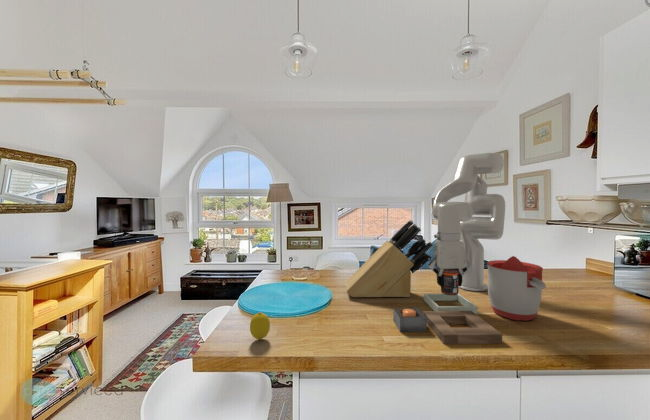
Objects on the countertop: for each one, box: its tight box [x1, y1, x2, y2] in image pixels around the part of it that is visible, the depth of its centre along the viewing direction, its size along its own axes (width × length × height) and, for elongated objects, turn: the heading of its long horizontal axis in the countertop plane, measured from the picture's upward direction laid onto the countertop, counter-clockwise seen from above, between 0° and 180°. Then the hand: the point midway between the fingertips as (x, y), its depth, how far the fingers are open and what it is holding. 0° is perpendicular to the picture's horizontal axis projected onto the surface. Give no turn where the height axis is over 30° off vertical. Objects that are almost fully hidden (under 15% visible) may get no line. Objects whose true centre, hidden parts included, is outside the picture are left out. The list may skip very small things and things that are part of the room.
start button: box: [403, 309, 416, 317], centre depth 85 cm, size 4×4×4 cm
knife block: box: [344, 219, 434, 298], centre depth 114 cm, size 11×35×31 cm, turn 89°
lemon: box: [249, 311, 271, 341], centre depth 78 cm, size 6×6×8 cm
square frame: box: [422, 310, 503, 345], centre depth 82 cm, size 16×16×2 cm
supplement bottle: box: [440, 269, 460, 295], centre depth 101 cm, size 6×6×11 cm
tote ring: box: [423, 292, 478, 315], centre depth 100 cm, size 14×14×2 cm
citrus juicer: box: [486, 255, 547, 321], centre depth 92 cm, size 16×17×20 cm
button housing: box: [392, 307, 428, 333], centre depth 85 cm, size 8×8×4 cm
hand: (449, 284), depth 101 cm, fingers closed on supplement bottle, 6 cm apart
